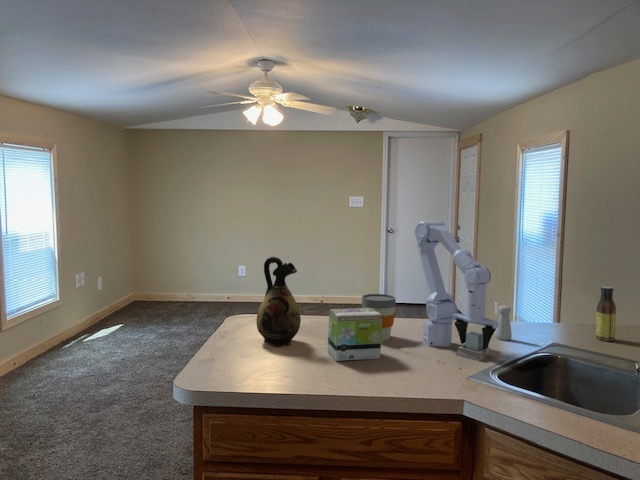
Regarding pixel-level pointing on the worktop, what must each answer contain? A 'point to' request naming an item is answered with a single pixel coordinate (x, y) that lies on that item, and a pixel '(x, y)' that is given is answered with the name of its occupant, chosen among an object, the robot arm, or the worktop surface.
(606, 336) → the sauce bottle
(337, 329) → the tea box
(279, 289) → the ceramic jug
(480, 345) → the peg
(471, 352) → the board
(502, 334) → the salt shaker
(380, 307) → the reusable coffee cup
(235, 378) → the worktop surface
